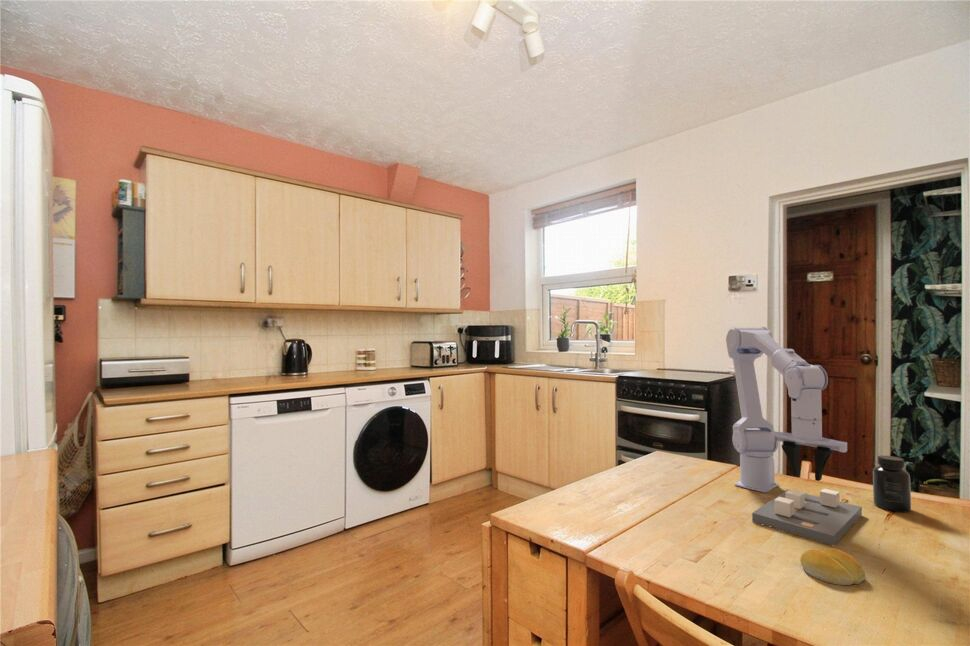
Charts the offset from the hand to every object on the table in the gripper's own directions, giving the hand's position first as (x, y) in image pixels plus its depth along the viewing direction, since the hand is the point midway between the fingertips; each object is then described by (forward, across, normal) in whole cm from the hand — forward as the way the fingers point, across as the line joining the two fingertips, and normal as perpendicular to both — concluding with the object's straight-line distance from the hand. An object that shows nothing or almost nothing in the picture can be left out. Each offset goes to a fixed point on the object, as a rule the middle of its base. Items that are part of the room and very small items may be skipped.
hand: (807, 477), depth 104 cm
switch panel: (+9, 0, 0) cm, 9 cm away
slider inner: (+7, +2, +7) cm, 10 cm away
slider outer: (+7, -2, -7) cm, 10 cm away
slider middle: (+7, -2, 0) cm, 8 cm away
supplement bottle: (+10, +11, +23) cm, 27 cm away
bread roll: (+10, +10, -24) cm, 28 cm away
